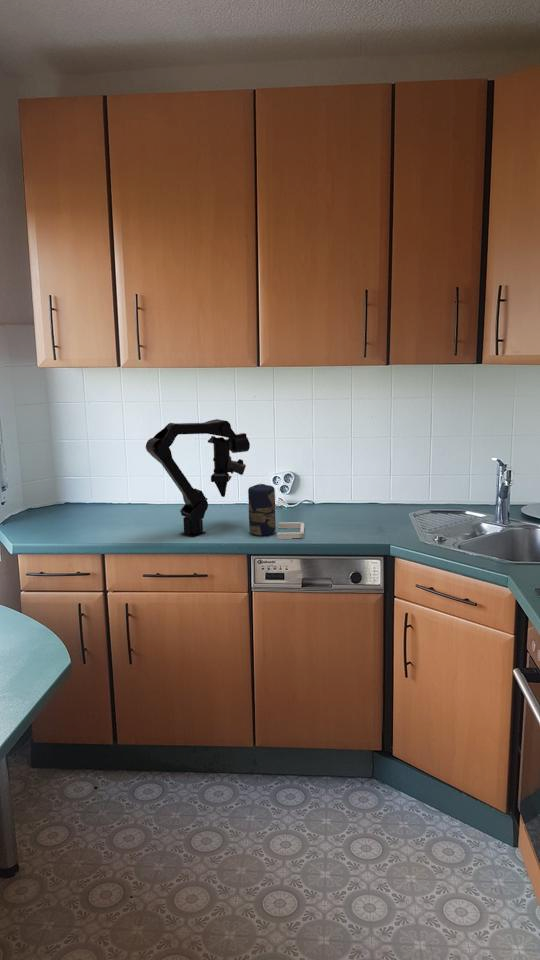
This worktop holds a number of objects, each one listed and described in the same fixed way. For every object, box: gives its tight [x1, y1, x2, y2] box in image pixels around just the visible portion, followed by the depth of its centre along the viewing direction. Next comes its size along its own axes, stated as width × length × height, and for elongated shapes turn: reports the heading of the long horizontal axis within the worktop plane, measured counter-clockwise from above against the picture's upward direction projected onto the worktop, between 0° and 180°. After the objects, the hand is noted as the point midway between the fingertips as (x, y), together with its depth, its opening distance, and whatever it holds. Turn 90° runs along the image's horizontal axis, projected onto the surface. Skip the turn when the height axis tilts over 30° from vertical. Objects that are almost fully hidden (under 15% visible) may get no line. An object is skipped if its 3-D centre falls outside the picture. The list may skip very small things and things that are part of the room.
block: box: [276, 521, 305, 540], centre depth 265 cm, size 9×15×2 cm, turn 177°
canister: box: [247, 483, 277, 536], centre depth 264 cm, size 10×10×18 cm
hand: (223, 496), depth 272 cm, fingers closed
